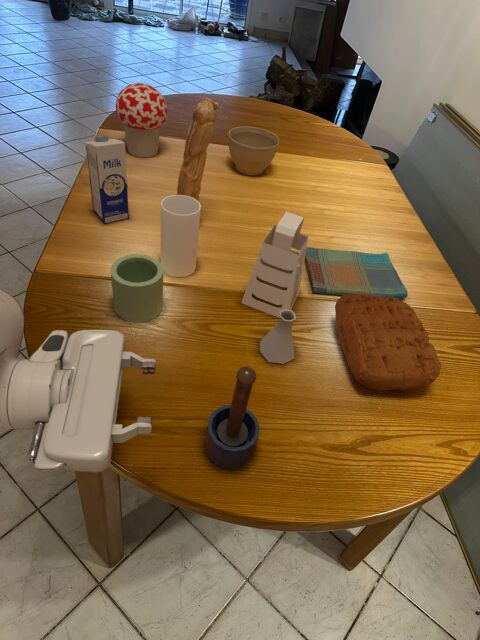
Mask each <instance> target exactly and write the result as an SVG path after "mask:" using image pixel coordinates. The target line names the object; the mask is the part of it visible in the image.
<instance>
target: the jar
mask: <svg viewBox="0 0 480 640" xmlns="http://www.w3.org/2000/svg"><path fill="white" fill-rule="evenodd" d="M164 274H165V272H164V271H163V267H162V265H161V263H160V261H159V260H158V259H156V258H154V257H153V256H150V255H146V254H139V253H138V254H137V253H134V254H133V253H131V254H126V255H124V256H121V257H118V258H117V259H116V260H115V261H114V262H113V263H112V264H111V267H110V279H111V289H112V291H111V292H112V300H113V301H112V302H113V309H114V312H115V314H117V316H118V317H119V318H120V319H121V320H125V321H127V322H131V323H144V322H150V321H153V320H154V319H156V318H157V317H158V316H159V315H160V314H161V312H162V310H163V308H164V307H163V306H164Z"/></svg>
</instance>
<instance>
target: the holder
mask: <svg viewBox="0 0 480 640" xmlns="http://www.w3.org/2000/svg"><path fill="white" fill-rule="evenodd" d="M230 408H231V404H224V405H222V406H220V407H218V408H216V409H215V410H214V411H213V412H212V413H211V415H210V416H209V418H208V422H207V426H206V433H205V439H204V451H205V454H206V456H207V458H208V460H210V462H211V463H212V464H214V465H215V466H217V467H218V468H221V469H225V470H237V469H239V468H242V467H244V466H245V465H247V464H248V462H249V461H250V460H251V459H252V457H253V455H254V451H255V448H256V445H257V443H258V440H259V437H260V431H261V427H260V424H259V421H258V418H257V417H256V416H255V414H254V413H253V412H252V411H251V410H249V409H248V408H246V412H245V415H244V419H243V423H244V424H245V425H246V427H247V429H248V437H247V440H246V444H245V445H244V446H240V447H231V446H226V445H224V444H223V443H221V442H220V441H218V440H217V438H216V433H217V428H218V425H219V424H220V423H221V422H222V421H223V420H225V419H227V418H228V417H229V413H230Z"/></svg>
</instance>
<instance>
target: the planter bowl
mask: <svg viewBox="0 0 480 640" xmlns="http://www.w3.org/2000/svg"><path fill="white" fill-rule="evenodd" d="M279 145H280V139H279V137H278V136H277V135H276V134H275V133H274V132H272V131H269V130H267V129H264V128H261V127H256V126H237V127H233V128H231V129H230V130H229V131H228V149H229V150H228V151H229V154H230V157H231V159H232V161H233V164H234V168H235V170H236V171H237V172H238V173H240V174H243V175H245V176H259V175H261V174H263V173H264V170H265V169H266V168H268V166H269V165H270V164H271V162H273V160H274V158H275V157H276V153H277V150H278V147H279Z"/></svg>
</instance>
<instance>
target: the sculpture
mask: <svg viewBox="0 0 480 640" xmlns="http://www.w3.org/2000/svg"><path fill="white" fill-rule="evenodd" d="M201 100H202V101H200V102H199V103H197V104H196V105H195V108H194V109H193V112H192V119H191V122H190V124H189V126H188V128H187V133H186V136H185V144H184V151H183V157H182V158H183V160H182V163H181V166H180V170H179V174H178V180H177V190H176V195H185V196H189V197H192V198H194V199H196V200H197V201H198V202H199V203H200V204H201V202H200V201H201V199H200V194H201V190H202V181H203V180H202V179H203V176H204V172H205V171H204V170H205V166H206V160H207V154H208V152H207V149H208V147H209V145H210V142H211V139H212V136H213V134H214V129H215V121H216V118H217V117H218V115H217V110H218V108H219V107H220V104H219V102H217V101H213V100H212V99H211V98H210V97H202V98H201Z"/></svg>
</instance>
